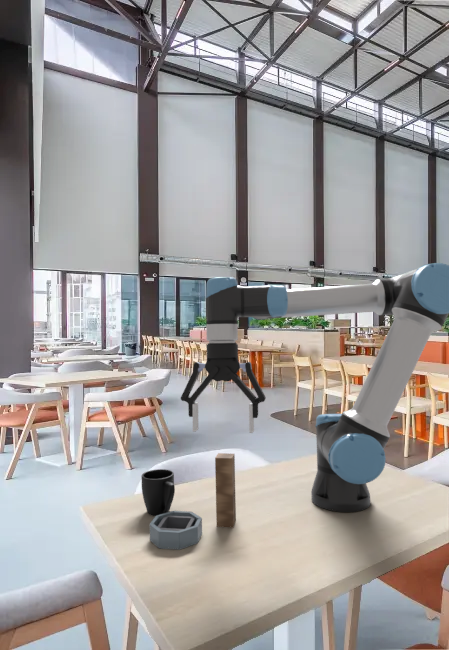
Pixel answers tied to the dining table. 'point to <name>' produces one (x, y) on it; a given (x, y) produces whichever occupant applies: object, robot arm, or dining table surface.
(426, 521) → the dining table surface
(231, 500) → the wooden post
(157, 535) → the octagonal peg hole ring
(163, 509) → the mug
